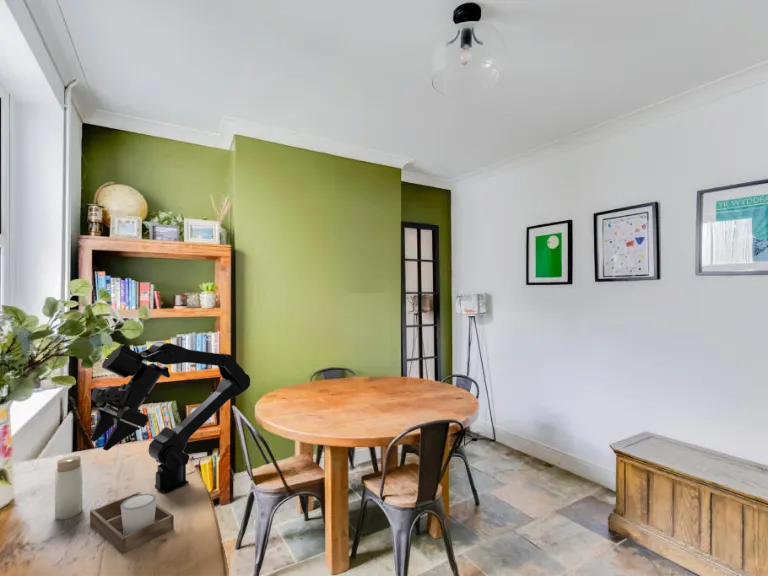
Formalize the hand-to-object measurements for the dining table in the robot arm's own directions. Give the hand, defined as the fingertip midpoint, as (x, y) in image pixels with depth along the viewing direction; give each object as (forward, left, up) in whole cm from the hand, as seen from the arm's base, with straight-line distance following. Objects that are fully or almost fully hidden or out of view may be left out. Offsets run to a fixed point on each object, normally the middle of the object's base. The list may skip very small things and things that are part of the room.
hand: (98, 445), depth 93 cm
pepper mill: (+4, -6, -17) cm, 18 cm away
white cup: (-2, +16, -17) cm, 23 cm away
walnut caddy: (-2, +12, -17) cm, 21 cm away
